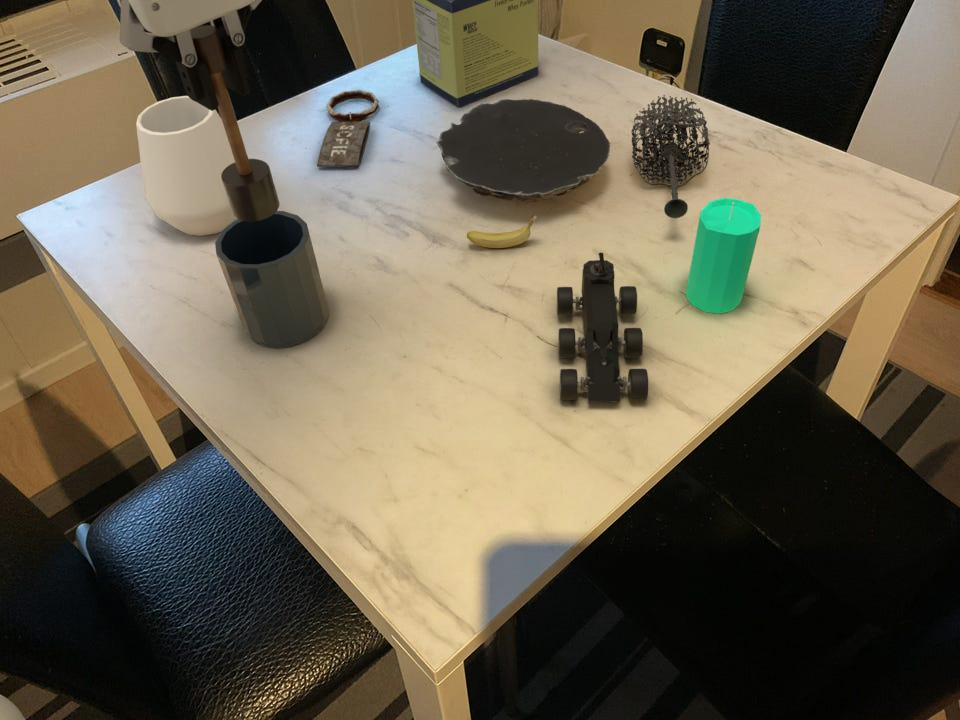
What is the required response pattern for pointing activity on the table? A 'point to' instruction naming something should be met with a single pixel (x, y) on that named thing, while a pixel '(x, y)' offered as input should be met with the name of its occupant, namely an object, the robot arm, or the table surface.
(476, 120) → the board
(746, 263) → the candle
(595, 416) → the table surface
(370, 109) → the keychain
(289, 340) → the container
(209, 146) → the cup
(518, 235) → the banana
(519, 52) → the protein box
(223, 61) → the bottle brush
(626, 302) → the toy vehicle
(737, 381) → the table surface
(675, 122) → the massage brush
